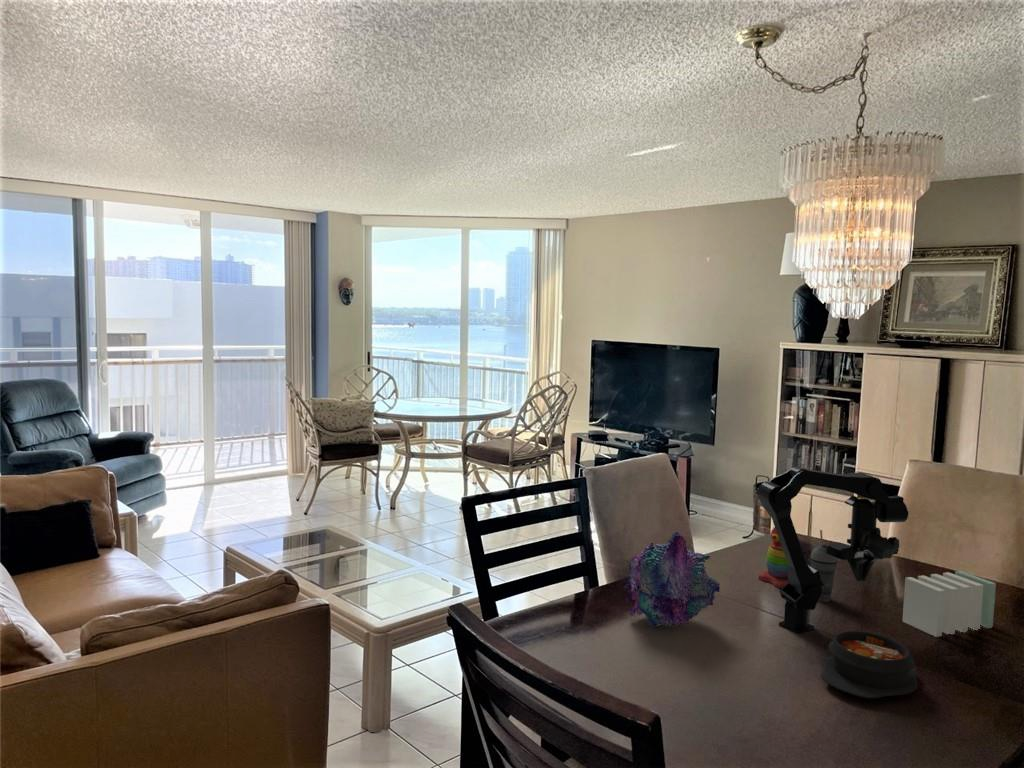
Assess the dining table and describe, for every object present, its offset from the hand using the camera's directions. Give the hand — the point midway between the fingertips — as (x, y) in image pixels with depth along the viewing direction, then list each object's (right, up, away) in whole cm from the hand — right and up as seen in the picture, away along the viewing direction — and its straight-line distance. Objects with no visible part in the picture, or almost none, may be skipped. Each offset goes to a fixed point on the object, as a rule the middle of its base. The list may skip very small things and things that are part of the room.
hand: (860, 580), depth 184 cm
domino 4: (+29, -12, +4) cm, 31 cm away
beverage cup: (-2, -11, +19) cm, 22 cm away
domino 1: (+16, -12, 0) cm, 20 cm away
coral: (-50, -11, 0) cm, 51 cm away
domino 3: (+24, -12, +3) cm, 27 cm away
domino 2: (+20, -12, +1) cm, 24 cm away
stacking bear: (-8, -10, +33) cm, 35 cm away
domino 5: (+33, -12, +6) cm, 36 cm away
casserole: (-13, -14, -29) cm, 35 cm away
